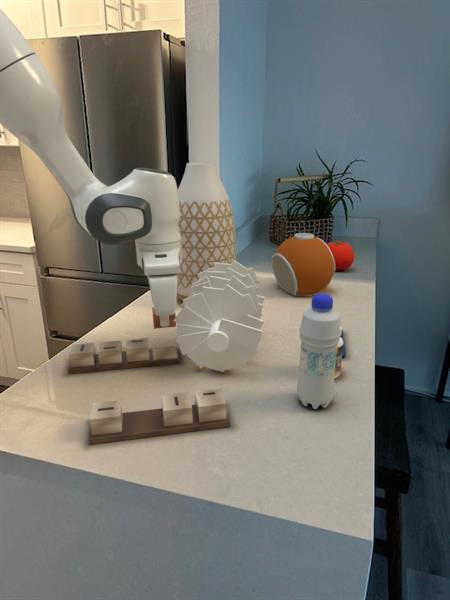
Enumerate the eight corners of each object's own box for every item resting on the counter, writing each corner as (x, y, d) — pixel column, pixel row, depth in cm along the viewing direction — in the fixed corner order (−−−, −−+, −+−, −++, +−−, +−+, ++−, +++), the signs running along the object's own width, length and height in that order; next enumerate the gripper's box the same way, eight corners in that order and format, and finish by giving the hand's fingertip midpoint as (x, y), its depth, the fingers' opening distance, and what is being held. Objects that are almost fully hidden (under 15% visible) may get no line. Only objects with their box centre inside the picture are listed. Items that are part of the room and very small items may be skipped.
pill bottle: (326, 383, 81) (330, 335, 78) (304, 371, 86) (307, 325, 82) (346, 374, 85) (351, 328, 81) (324, 363, 89) (327, 319, 86)
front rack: (88, 445, 65) (85, 422, 64) (92, 421, 71) (89, 400, 69) (230, 426, 69) (230, 405, 68) (223, 405, 75) (223, 385, 73)
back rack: (68, 374, 85) (65, 355, 84) (72, 360, 91) (70, 342, 89) (179, 363, 89) (178, 345, 88) (176, 350, 95) (175, 333, 93)
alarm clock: (343, 295, 129) (349, 238, 123) (293, 303, 122) (296, 243, 116) (308, 277, 145) (311, 226, 139) (262, 284, 139) (263, 230, 133)
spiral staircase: (196, 394, 85) (210, 335, 108) (278, 364, 81) (275, 310, 104) (151, 318, 80) (176, 273, 103) (237, 281, 75) (243, 243, 98)
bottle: (295, 389, 79) (301, 287, 73) (332, 392, 78) (342, 289, 72) (295, 410, 73) (301, 300, 66) (335, 414, 72) (346, 303, 65)
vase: (162, 307, 120) (154, 164, 107) (184, 286, 137) (179, 161, 124) (227, 312, 116) (226, 165, 103) (241, 291, 133) (242, 161, 120)
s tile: (153, 328, 87) (152, 314, 85) (153, 320, 91) (152, 306, 90) (176, 326, 87) (175, 312, 86) (174, 318, 91) (173, 304, 90)
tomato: (328, 263, 163) (331, 236, 159) (359, 269, 154) (362, 241, 151) (311, 268, 156) (313, 240, 152) (341, 276, 147) (344, 246, 144)
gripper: (142, 243, 93) (146, 303, 98) (144, 269, 74) (150, 342, 79) (171, 242, 94) (174, 301, 99) (180, 267, 75) (184, 338, 80)
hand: (163, 319), depth 89 cm, fingers closed on s tile, 4 cm apart
